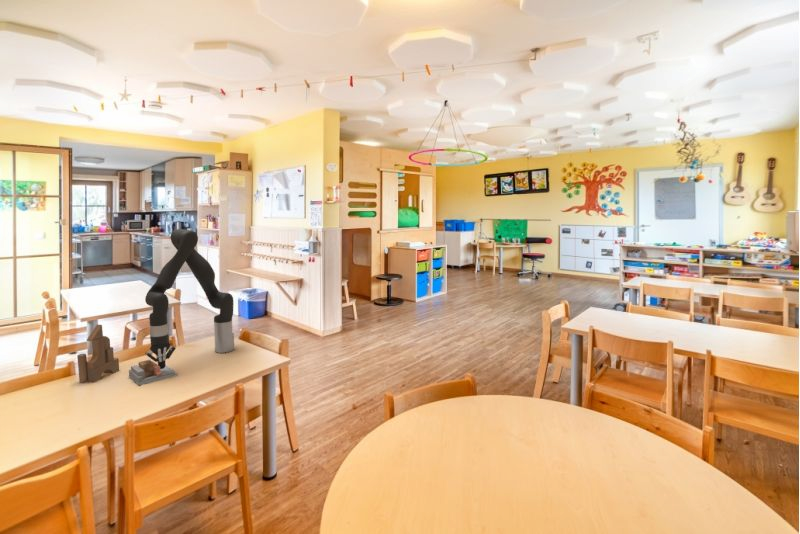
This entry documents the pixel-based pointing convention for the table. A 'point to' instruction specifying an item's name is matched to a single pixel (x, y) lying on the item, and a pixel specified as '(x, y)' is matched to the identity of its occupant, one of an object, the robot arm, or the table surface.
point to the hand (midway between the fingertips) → (162, 368)
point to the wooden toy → (97, 358)
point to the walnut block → (147, 368)
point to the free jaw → (156, 369)
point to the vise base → (139, 377)
